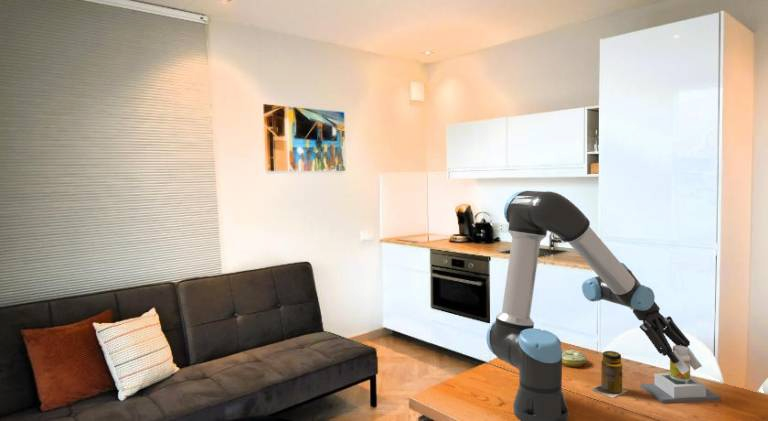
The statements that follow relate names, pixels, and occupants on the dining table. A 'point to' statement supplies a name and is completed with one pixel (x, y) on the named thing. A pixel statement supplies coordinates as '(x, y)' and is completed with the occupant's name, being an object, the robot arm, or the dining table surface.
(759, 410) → the dining table surface
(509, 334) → the robot arm
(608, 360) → the condiment
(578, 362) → the decorated donut
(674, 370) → the supplement bottle
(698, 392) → the socket plate
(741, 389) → the dining table surface
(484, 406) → the dining table surface
